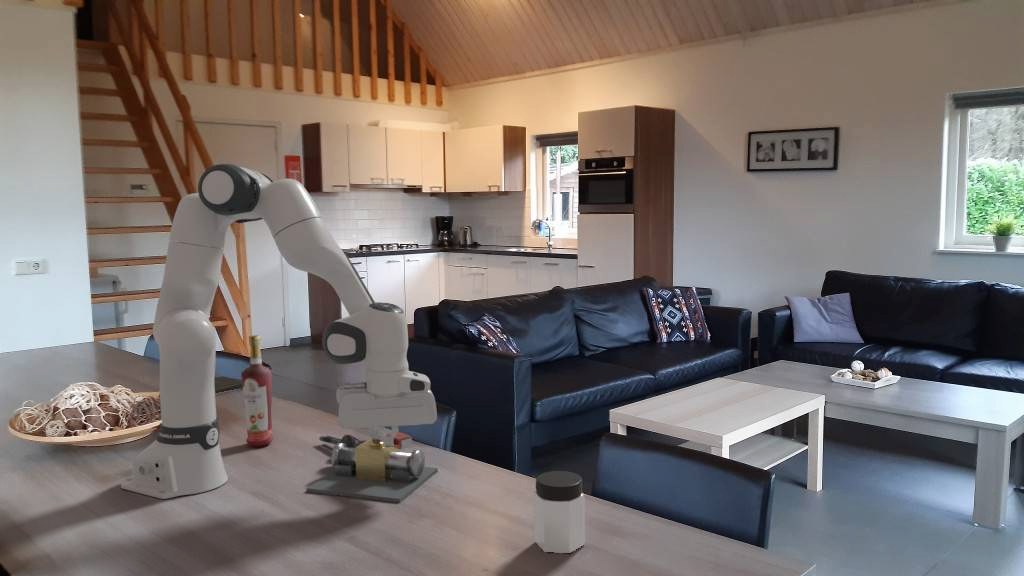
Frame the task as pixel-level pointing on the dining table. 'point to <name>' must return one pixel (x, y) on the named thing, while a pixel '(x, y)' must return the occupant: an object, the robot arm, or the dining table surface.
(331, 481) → the mat
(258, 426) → the liquor
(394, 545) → the dining table surface
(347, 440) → the valve
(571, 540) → the jar
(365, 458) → the pipe valve
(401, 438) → the lever
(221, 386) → the dark grey flat slab
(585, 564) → the dining table surface
